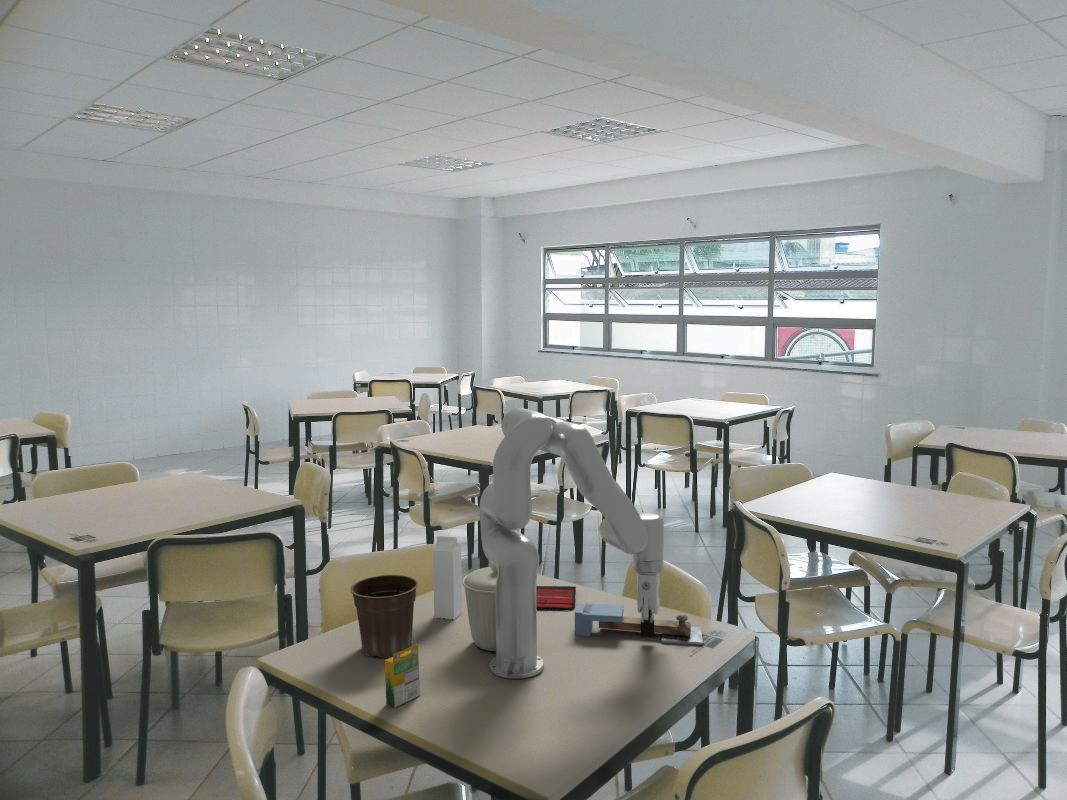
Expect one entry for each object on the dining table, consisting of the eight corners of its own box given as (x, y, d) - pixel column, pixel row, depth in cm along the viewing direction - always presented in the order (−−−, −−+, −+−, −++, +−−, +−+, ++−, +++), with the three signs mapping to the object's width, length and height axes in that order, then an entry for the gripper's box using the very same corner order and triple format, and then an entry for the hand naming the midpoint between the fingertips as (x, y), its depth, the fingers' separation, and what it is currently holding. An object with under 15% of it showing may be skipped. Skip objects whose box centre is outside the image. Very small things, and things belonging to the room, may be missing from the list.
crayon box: (411, 691, 173) (409, 640, 172) (420, 695, 171) (419, 643, 170) (385, 704, 167) (383, 651, 166) (394, 708, 166) (393, 654, 164)
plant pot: (372, 668, 185) (370, 601, 183) (341, 647, 197) (339, 584, 196) (432, 649, 195) (430, 586, 193) (398, 630, 207) (397, 570, 206)
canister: (451, 654, 192) (449, 569, 190) (478, 626, 210) (477, 548, 207) (522, 662, 187) (521, 575, 185) (544, 633, 204) (543, 553, 202)
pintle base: (702, 645, 196) (702, 642, 196) (661, 643, 197) (661, 640, 197) (701, 630, 205) (701, 627, 205) (662, 627, 207) (662, 624, 207)
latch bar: (691, 630, 203) (691, 614, 202) (690, 636, 199) (690, 620, 198) (601, 622, 209) (601, 607, 208) (598, 628, 204) (598, 613, 204)
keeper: (621, 639, 200) (621, 616, 199) (574, 636, 202) (574, 613, 201) (623, 627, 208) (623, 605, 207) (577, 624, 210) (577, 602, 209)
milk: (442, 610, 222) (440, 533, 220) (462, 612, 220) (461, 534, 218) (433, 618, 216) (431, 538, 214) (454, 620, 214) (452, 540, 212)
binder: (505, 584, 237) (576, 585, 236) (506, 591, 238) (576, 592, 236) (499, 605, 222) (575, 606, 220) (499, 613, 222) (575, 615, 220)
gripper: (661, 574, 187) (660, 649, 189) (665, 556, 202) (664, 626, 204) (629, 572, 189) (629, 647, 191) (635, 554, 204) (635, 623, 205)
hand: (647, 636), depth 197 cm, fingers closed
